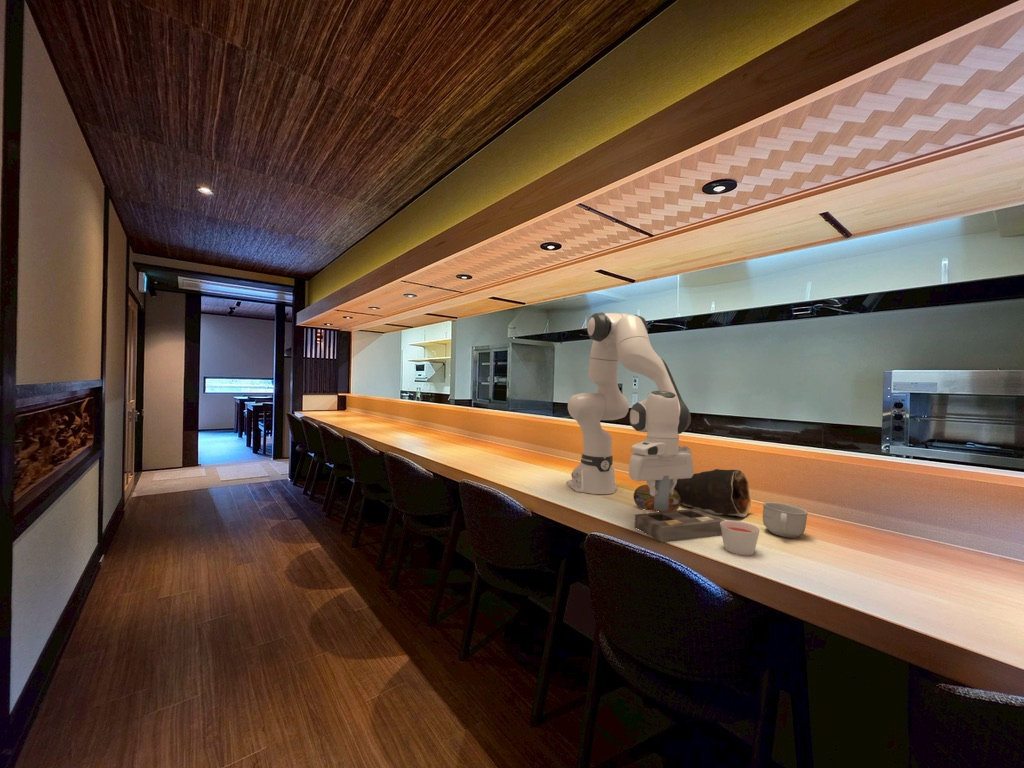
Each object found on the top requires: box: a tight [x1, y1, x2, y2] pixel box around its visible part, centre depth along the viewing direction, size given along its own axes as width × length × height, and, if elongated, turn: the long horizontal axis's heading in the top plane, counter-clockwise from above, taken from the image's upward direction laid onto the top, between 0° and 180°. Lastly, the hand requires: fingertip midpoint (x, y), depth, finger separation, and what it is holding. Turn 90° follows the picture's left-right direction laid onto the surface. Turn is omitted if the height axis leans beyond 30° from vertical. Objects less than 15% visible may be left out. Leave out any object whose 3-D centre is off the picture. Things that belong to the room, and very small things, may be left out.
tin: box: [633, 484, 681, 512], centre depth 141 cm, size 15×3×8 cm, turn 62°
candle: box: [720, 519, 761, 556], centre depth 108 cm, size 9×9×6 cm
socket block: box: [634, 508, 726, 543], centre depth 121 cm, size 12×22×4 cm, turn 109°
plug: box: [654, 476, 669, 511], centre depth 121 cm, size 4×4×10 cm
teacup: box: [762, 501, 809, 539], centre depth 120 cm, size 14×11×8 cm
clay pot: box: [674, 468, 752, 518], centre depth 145 cm, size 15×15×25 cm
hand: (661, 494), depth 121 cm, fingers closed on plug, 4 cm apart
